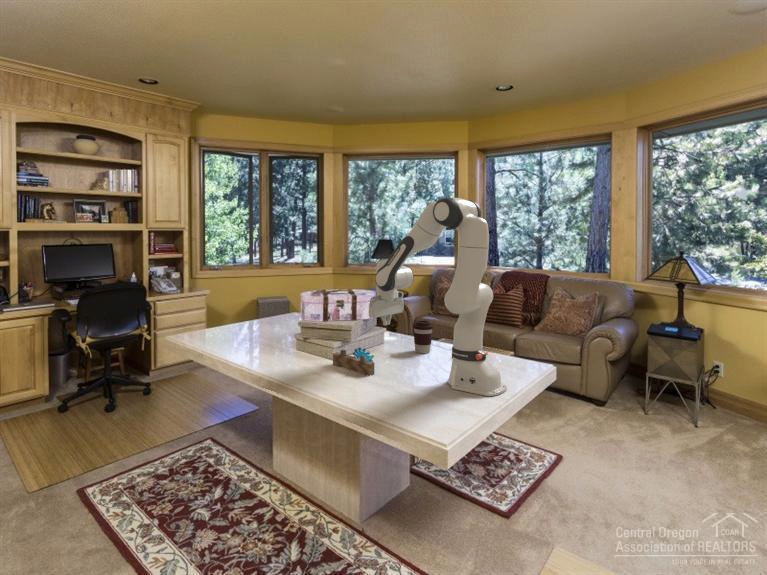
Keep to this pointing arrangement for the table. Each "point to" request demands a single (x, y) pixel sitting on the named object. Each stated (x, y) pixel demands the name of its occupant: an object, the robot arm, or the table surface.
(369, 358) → the gear
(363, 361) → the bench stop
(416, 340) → the coffee cup
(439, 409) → the table surface
